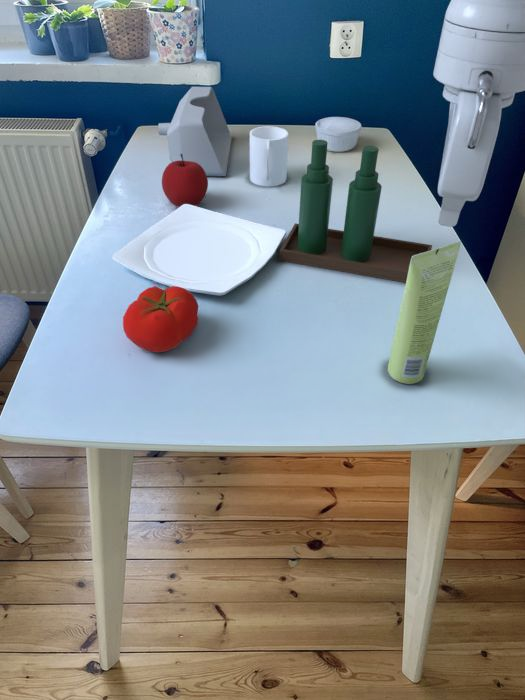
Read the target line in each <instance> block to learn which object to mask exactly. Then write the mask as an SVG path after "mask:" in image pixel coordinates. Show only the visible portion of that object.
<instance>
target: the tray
mask: <svg viewBox="0 0 525 700" xmlns="http://www.w3.org/2000/svg"><path fill="white" fill-rule="evenodd" d="M298 229H299V223H296V222H295V223H294V224H293V226H292V228H291V230H290V232H289V233H288V235H287V236H286V238H285V240H284V242H283V244H282V245H281V248H279V261H281V262H285V263H291V264H297V265H303V266H309V267H315V268H320V269H326V270H331V271H337V272H342V273H348V274H354V275H358V276H359V275H361V276H366V277H370V278H371V277H372V278H377V279H382V280H388V281H389V280H390V281H394V282H400V283H405V284H406V281H407V276H408V271H409V266H410V261H411V258H412V256H414V255H417V254H420V253H424V252H427V251H430V250H433V245H432V244H427V243H422V242H415V241H408V240H402V239H396V238H390V237H384V236H378V235H374V237H373V244H372V250H371V256H370V258H369V260H367V261H365V262H355V261H350V260H345V259H344V258H343V257H342V256H341V249H342V241H343V232H344V230H339V229H334V228H328V236H327V246H326V250H325V252H323V253H322V254H319V255H314V254H309V253H303V252H300V251H299V250H298V247H297V246H298Z"/></svg>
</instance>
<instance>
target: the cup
mask: <svg viewBox="0 0 525 700" xmlns="http://www.w3.org/2000/svg"><path fill="white" fill-rule="evenodd" d="M288 151H289V131H288V130H287V129H285V128H283V127H280V126H279V127H278V126H272V125H271V126H270V125H266V126H265V125H264V126H259V127H254V128H253V129H251V130H250V131H249V180H250V182H251V183H253V184H254V185H256V186H259V187H269V188H270V187H277V186H282V185H283V184H285V183H286V182H287V174H288Z"/></svg>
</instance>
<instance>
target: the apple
mask: <svg viewBox="0 0 525 700" xmlns="http://www.w3.org/2000/svg"><path fill="white" fill-rule="evenodd" d="M180 155H181V158H182V161H174V162H172V161H171V162H170V163H168V165H167V166H165V169H163V173H162V176H161V188H162V192H163V194H164V195H165V197H166V198H167V200H168V201H169V202H170V203H171V204H172V205H173V206H175V207H178V208H179V207H180V206H182V205H183V204H189V205H193V206H196V207H197V206H199V205H200V204H201V203H202V202H203V200H204V199H205V197H206V195H207V192H208V188H209V180H208V176H206V173H205V171H204V169H203V168H202V167H201V165H199V164H198V163H196V162H191V161H183V156H182V154H180Z"/></svg>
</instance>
